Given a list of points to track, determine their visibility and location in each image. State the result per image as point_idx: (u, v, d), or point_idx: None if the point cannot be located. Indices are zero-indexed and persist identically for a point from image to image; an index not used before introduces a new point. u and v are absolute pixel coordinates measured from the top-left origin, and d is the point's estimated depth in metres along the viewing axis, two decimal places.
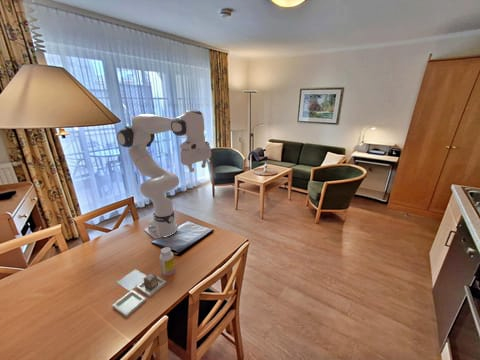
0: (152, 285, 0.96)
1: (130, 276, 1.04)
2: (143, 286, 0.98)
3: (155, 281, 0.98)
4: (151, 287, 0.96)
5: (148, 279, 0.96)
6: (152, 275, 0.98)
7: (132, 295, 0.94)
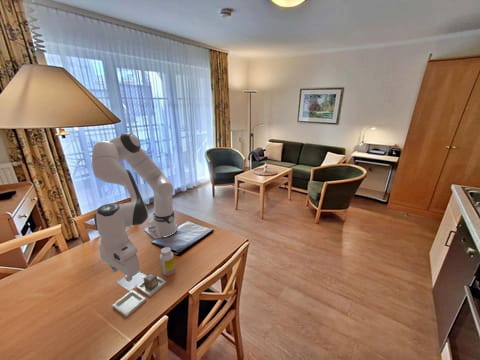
0: (152, 285, 0.96)
1: None
2: (143, 286, 0.98)
3: (155, 281, 0.98)
4: (151, 287, 0.96)
5: (148, 279, 0.96)
6: (152, 275, 0.98)
7: (132, 295, 0.94)
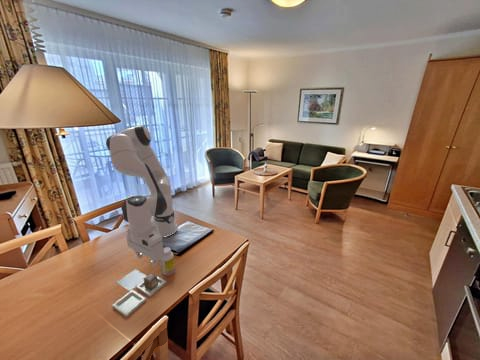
0: (152, 285, 0.96)
1: (130, 276, 1.04)
2: (143, 286, 0.98)
3: (155, 281, 0.98)
4: (151, 287, 0.96)
5: (148, 279, 0.96)
6: (152, 275, 0.98)
7: (132, 295, 0.94)
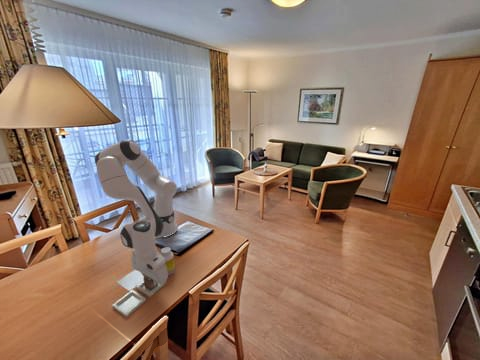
0: (152, 285, 0.96)
1: (130, 276, 1.04)
2: (143, 286, 0.98)
3: None
4: (151, 287, 0.96)
5: (148, 279, 0.96)
6: None
7: (132, 295, 0.94)
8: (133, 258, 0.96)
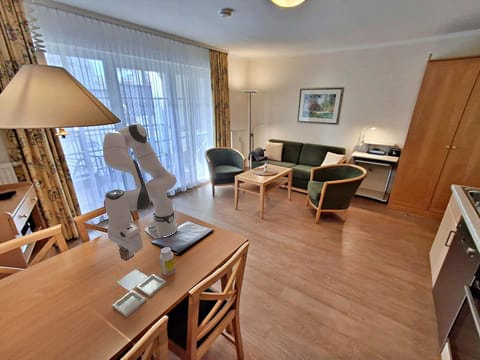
0: (127, 256, 0.96)
1: (130, 276, 1.04)
2: (143, 286, 0.98)
3: None
4: (126, 258, 0.95)
5: (123, 249, 0.95)
6: None
7: (132, 295, 0.94)
8: (109, 229, 0.96)
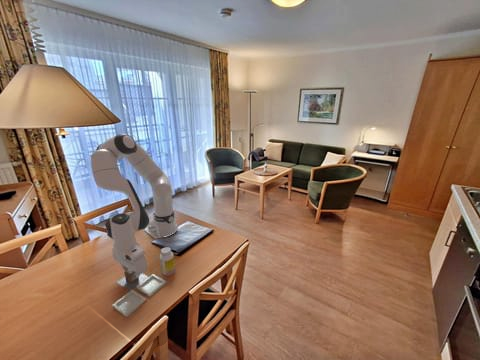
0: (132, 279, 1.00)
1: None
2: (143, 286, 0.98)
3: None
4: (131, 280, 1.00)
5: (128, 273, 0.99)
6: None
7: (132, 295, 0.94)
8: (114, 250, 0.99)
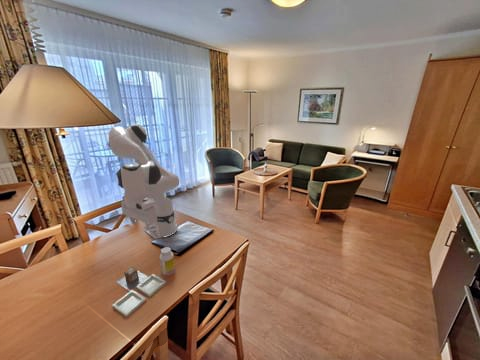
0: (132, 279, 1.00)
1: None
2: (143, 286, 0.98)
3: (135, 275, 1.01)
4: (131, 280, 1.00)
5: (128, 273, 0.99)
6: (133, 269, 1.01)
7: (132, 295, 0.94)
8: (123, 202, 0.97)
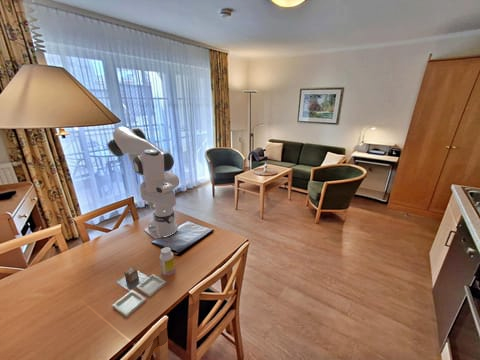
0: (132, 279, 1.00)
1: None
2: (143, 286, 0.98)
3: (135, 275, 1.01)
4: (131, 280, 1.00)
5: (128, 273, 0.99)
6: (133, 269, 1.01)
7: (132, 295, 0.94)
8: (142, 188, 1.02)
